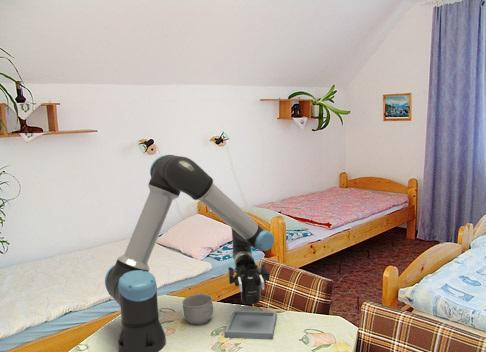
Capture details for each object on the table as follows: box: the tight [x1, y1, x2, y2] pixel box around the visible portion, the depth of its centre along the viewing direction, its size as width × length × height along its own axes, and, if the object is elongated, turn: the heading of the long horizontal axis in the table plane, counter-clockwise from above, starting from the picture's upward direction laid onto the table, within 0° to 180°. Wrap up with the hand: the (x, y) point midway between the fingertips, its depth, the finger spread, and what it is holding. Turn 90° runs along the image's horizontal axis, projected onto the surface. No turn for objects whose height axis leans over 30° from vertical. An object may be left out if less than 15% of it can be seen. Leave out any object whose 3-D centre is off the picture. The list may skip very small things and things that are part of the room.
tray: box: [223, 310, 278, 340], centre depth 152 cm, size 16×16×2 cm
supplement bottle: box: [240, 265, 262, 305], centre depth 150 cm, size 7×7×12 cm
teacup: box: [181, 291, 214, 325], centre depth 160 cm, size 14×11×8 cm
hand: (252, 286), depth 145 cm, fingers closed on supplement bottle, 7 cm apart
